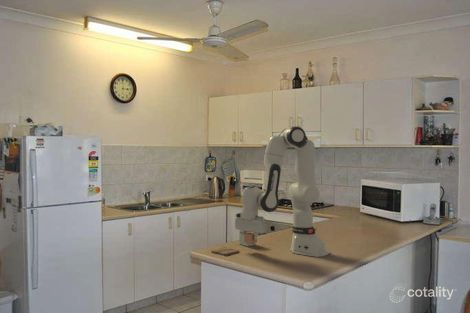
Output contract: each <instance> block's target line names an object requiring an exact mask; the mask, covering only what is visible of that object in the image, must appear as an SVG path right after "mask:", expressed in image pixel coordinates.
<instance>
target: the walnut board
mask: <svg viewBox="0 0 470 313" xmlns="http://www.w3.org/2000/svg"><path fill="white" fill-rule="evenodd" d="M211 253H212V254H216V255H220V256H225V257H228V256H230V255H235V254H238V253H240V250H239V249H234V248H229V247H226V246H225V247H220V248H217V249H213V250H212V249H211Z"/></svg>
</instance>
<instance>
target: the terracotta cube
mask: <svg viewBox="0 0 470 313" xmlns="http://www.w3.org/2000/svg"><path fill="white" fill-rule="evenodd" d="M254 236H255V234H254V233H252V232H249V233H245V234H244V243H250V244H252V243H257V242H258V239H257V240H256V241H255V240H253V237H254Z"/></svg>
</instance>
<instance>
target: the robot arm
mask: <svg viewBox="0 0 470 313" xmlns="http://www.w3.org/2000/svg"><path fill="white" fill-rule="evenodd" d="M288 147H294V149H295V163H294V173H295V175H296V178H297V182H293V183H291V184H290V185H289V187H288V195H289V197H290V201H291V205H292V213H293V217H292V218H293V219H292V222H293V223H292V224H293V225H292V238H291V245H290V248H289V251H290V252H291V253H292V254H294V255H295V254H296V255H301V256H302V255H303V256H308V257H309V256H310V257H316V258H320V257H325V256H328V255H329V254H330V253H331V252H330V250H328V249H326V243H325V241H324V240H323V239H322V238H321V237H320V236H319V235H318V234H316V231H317V228H315V227H314V226H313V221H314V220H313V218H314V213H313V210H312V208H311V204H313V203H316V202H317V201H319V199H320V194H321V193H320V190H319V188H318V186H317V181H316V174H315V173H316V170H315V169H316V148H315V142H313V141H312V140H310V139H308V137H307V135H306V132H305V130H304V128H302V127H300V126H290V127H287V128H284V129H282V132H281V133H280V134H279V135H272V136H271V137H270V138H269V140H268V142H267V144H266V147H265V151H264V156H263V166H264V168H265V170H266V172H267V182H266V183H267V184H266V190H263V189H261V188H259V187H257V186H256V185H249V186H246V187H244V188H243V190H242V198H241V199H242V200H241V201H242V202H241V203H242V209H241V210H242V211H241V212H236V213H235V220H234V228H235V229H236V230H237V231H240V230H242V232H243V234H245V233H246V232H247V231H248V232H254V234H255V236H254V237H253V240H255V241H256V240H257V241H258V236H259V235H260V234H262V235H263V234H266V232H267V225H266V218H264V216H259V209H262V210H263V211H264V212H267V213H273V212H275V211H276V210H277V209H278V208H279V205H280V200H279V188H280V187H279V186H280V181H281V180H280V179H281V172H282V167H283V163H284V159H285V153H286V151H287V149H288Z"/></svg>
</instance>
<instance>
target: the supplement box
mask: <svg viewBox="0 0 470 313" xmlns="http://www.w3.org/2000/svg"><path fill="white" fill-rule="evenodd" d="M246 233H249V232H248V231H247V232H246ZM252 233H254V232H252ZM238 234H239V235H238V236H239V237H238V238H239V239H238V240H239V242H238V243H239V245H242V246H245V247H251V246H255V245H256V243H257V242H256V243H252V244H250V243H244V234H243V232H242V230H239V233H238Z"/></svg>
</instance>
